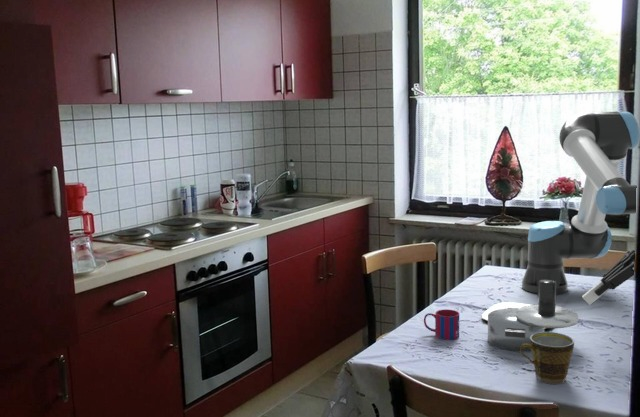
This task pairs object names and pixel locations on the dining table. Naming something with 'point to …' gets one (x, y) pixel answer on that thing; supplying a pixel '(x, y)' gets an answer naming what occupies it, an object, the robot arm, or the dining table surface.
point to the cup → (445, 324)
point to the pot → (509, 330)
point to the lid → (547, 310)
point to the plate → (502, 306)
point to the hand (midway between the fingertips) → (585, 300)
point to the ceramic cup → (550, 356)
